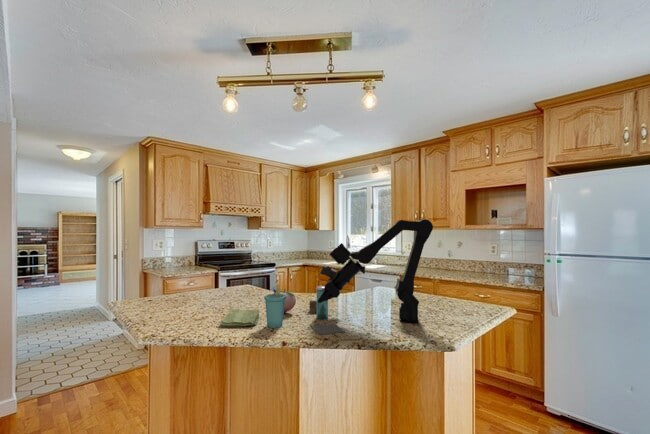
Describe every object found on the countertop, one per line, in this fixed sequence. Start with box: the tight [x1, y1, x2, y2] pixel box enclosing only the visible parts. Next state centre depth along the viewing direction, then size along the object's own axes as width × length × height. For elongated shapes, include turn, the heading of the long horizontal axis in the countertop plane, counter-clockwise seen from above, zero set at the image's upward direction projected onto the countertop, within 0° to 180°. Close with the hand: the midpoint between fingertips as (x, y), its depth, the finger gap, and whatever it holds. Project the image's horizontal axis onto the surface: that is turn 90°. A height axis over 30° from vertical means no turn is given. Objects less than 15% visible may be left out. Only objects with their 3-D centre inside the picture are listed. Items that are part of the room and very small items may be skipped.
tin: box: [315, 285, 329, 320], centre depth 128 cm, size 5×5×12 cm
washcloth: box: [219, 308, 260, 328], centre depth 123 cm, size 13×18×3 cm
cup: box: [263, 283, 286, 329], centre depth 116 cm, size 14×8×15 cm, turn 7°
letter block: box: [309, 298, 317, 313], centre depth 139 cm, size 4×4×5 cm
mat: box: [311, 323, 345, 336], centre depth 112 cm, size 9×9×1 cm
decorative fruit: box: [280, 289, 297, 314], centre depth 134 cm, size 9×8×10 cm
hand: (318, 300), depth 128 cm, fingers closed on tin, 5 cm apart
